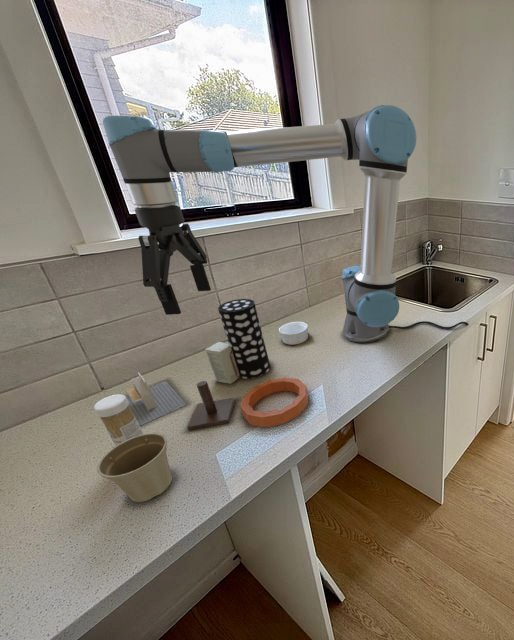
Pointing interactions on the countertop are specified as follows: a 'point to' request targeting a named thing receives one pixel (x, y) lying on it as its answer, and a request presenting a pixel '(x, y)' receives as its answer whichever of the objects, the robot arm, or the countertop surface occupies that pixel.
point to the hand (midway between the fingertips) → (190, 301)
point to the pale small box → (223, 362)
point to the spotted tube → (245, 337)
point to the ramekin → (294, 332)
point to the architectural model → (151, 400)
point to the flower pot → (138, 466)
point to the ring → (278, 415)
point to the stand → (210, 409)
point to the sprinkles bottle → (118, 418)
